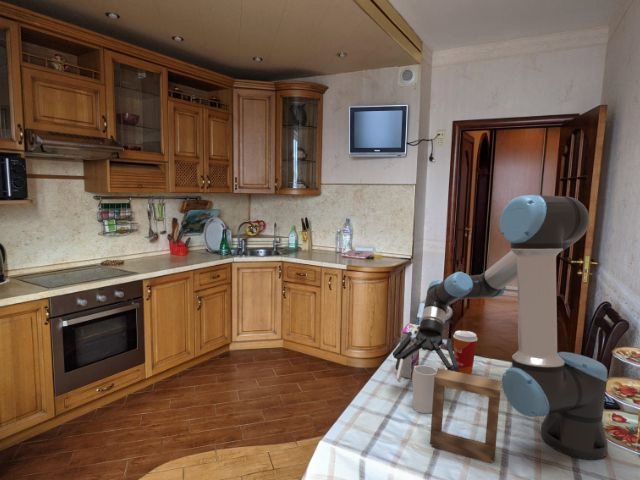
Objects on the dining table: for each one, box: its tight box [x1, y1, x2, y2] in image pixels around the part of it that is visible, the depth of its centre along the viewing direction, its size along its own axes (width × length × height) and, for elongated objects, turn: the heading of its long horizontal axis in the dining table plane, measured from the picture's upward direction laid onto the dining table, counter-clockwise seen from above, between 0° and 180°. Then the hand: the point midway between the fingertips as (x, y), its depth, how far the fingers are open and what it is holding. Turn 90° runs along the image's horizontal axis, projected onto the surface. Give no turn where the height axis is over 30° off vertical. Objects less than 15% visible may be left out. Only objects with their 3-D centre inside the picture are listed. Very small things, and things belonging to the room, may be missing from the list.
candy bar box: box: [399, 323, 420, 380], centre depth 150 cm, size 11×5×16 cm, turn 155°
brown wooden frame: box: [429, 367, 502, 464], centre depth 106 cm, size 15×7×18 cm, turn 65°
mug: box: [411, 364, 438, 414], centre depth 127 cm, size 10×7×12 cm, turn 18°
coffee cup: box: [452, 330, 479, 375], centre depth 150 cm, size 8×8×15 cm
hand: (419, 385), depth 127 cm, fingers open, 13 cm apart
